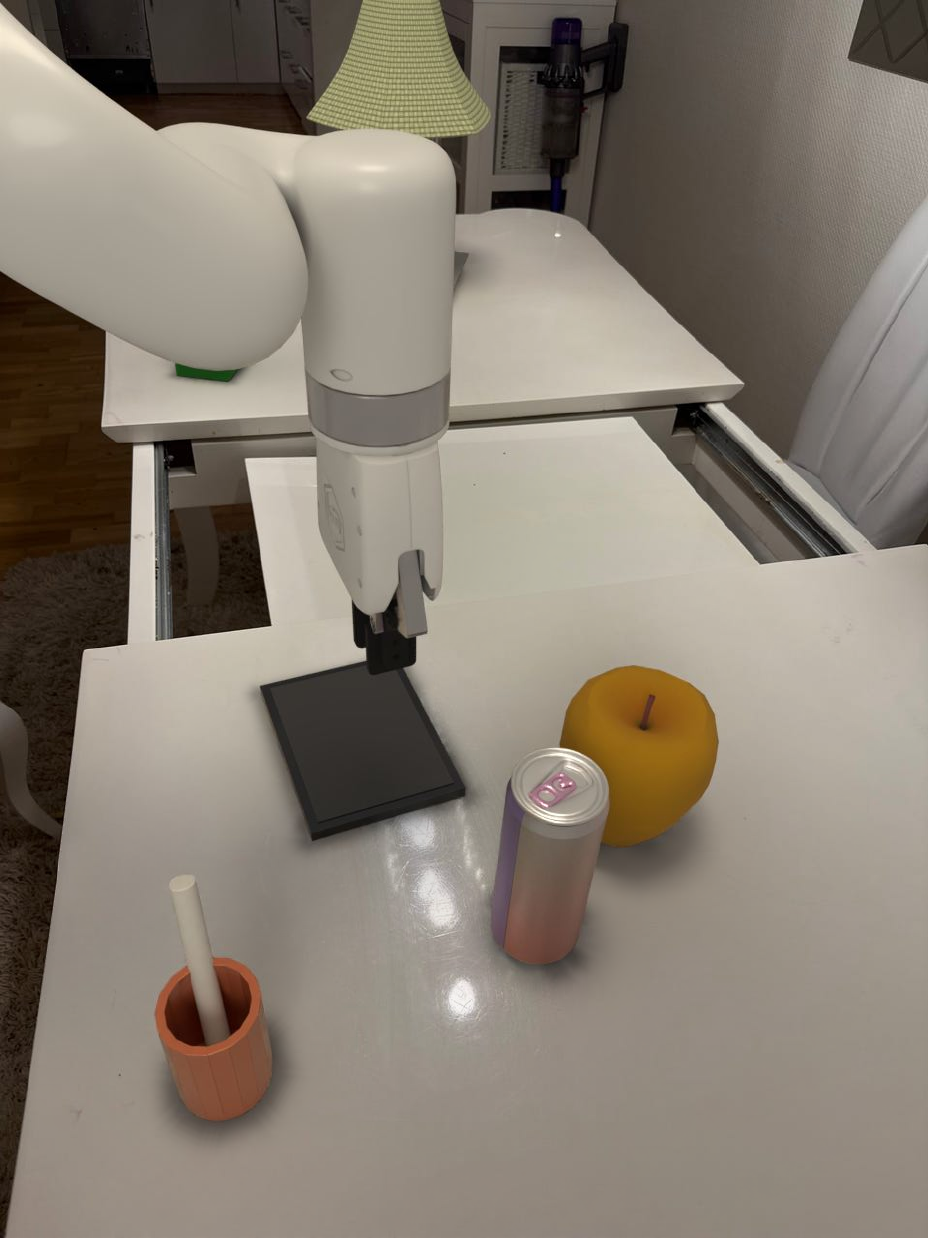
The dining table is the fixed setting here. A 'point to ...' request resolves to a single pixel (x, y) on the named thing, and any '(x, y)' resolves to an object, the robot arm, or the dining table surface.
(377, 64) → the desk lamp
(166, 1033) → the pen cup
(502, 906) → the beverage can
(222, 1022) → the stylus
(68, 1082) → the dining table surface
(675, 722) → the apple
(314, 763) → the tablet
